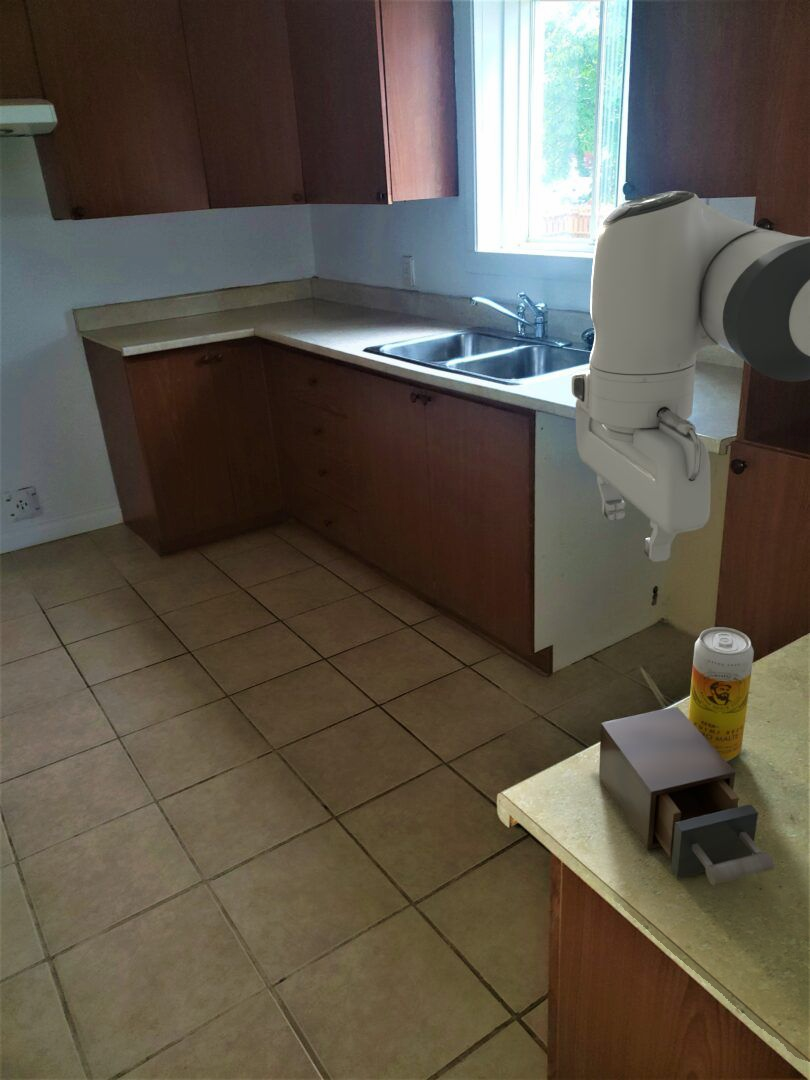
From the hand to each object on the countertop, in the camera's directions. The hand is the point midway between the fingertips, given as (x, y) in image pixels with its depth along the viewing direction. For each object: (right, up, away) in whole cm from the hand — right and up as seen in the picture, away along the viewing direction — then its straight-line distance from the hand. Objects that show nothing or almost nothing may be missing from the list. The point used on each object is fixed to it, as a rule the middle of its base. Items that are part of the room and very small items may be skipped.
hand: (633, 536), depth 77 cm
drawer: (+8, -31, +4) cm, 32 cm away
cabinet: (+6, -29, +11) cm, 31 cm away
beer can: (+14, -25, +18) cm, 34 cm away
